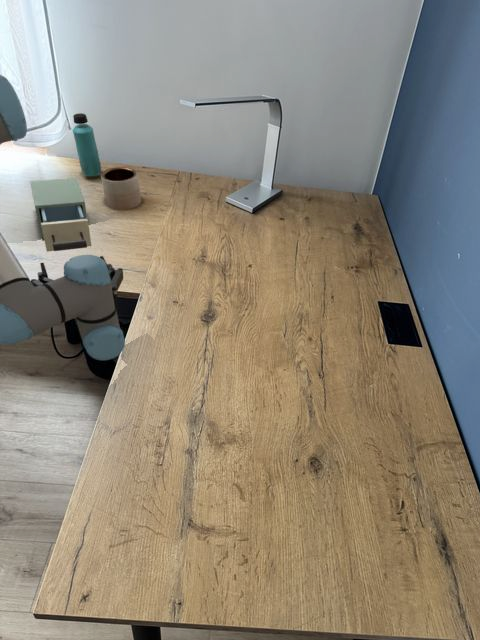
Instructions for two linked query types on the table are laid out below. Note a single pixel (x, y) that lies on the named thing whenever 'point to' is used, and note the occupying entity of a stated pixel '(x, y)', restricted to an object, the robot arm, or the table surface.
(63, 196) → the green drawer cabinet
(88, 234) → the drawer
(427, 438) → the table surface
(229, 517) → the table surface
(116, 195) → the planter
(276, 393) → the table surface
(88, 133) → the beverage bottle
